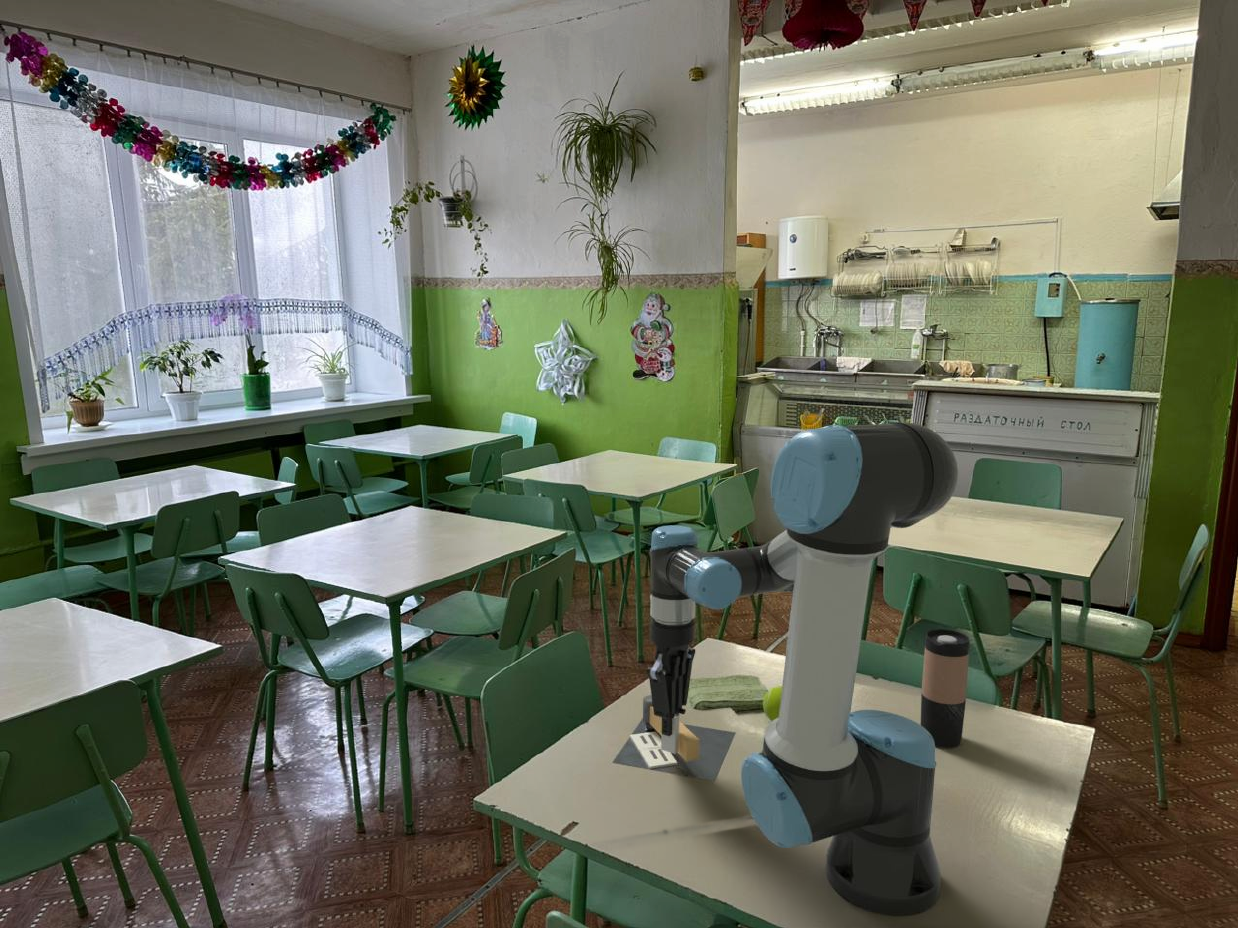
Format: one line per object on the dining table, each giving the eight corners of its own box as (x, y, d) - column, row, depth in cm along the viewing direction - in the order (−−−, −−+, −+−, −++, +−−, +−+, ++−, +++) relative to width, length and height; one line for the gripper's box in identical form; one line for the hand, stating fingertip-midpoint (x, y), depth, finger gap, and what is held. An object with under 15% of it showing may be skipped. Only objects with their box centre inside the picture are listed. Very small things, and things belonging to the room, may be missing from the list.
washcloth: (778, 711, 167) (779, 696, 167) (693, 718, 164) (693, 703, 163) (756, 683, 180) (756, 669, 179) (676, 690, 176) (676, 675, 176)
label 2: (639, 751, 148) (639, 748, 148) (665, 747, 149) (665, 745, 149) (649, 768, 142) (649, 766, 142) (677, 764, 144) (677, 761, 144)
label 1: (629, 736, 153) (629, 734, 153) (655, 733, 154) (655, 730, 154) (639, 752, 147) (639, 750, 147) (666, 748, 149) (666, 746, 149)
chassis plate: (714, 787, 139) (714, 772, 138) (612, 768, 144) (612, 754, 144) (735, 738, 155) (735, 724, 155) (642, 723, 161) (643, 710, 160)
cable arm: (639, 716, 157) (639, 697, 156) (657, 713, 158) (657, 693, 158) (683, 762, 141) (683, 740, 140) (702, 758, 142) (702, 736, 142)
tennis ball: (801, 717, 164) (803, 683, 162) (795, 733, 157) (797, 698, 156) (766, 711, 166) (767, 678, 165) (759, 726, 160) (760, 692, 158)
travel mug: (955, 729, 158) (963, 629, 155) (968, 750, 151) (976, 645, 148) (914, 727, 159) (920, 627, 156) (924, 748, 152) (931, 643, 148)
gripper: (672, 604, 147) (669, 729, 151) (632, 624, 137) (631, 759, 140) (710, 611, 143) (706, 741, 147) (672, 633, 133) (670, 772, 136)
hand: (670, 749), depth 144 cm, fingers closed
